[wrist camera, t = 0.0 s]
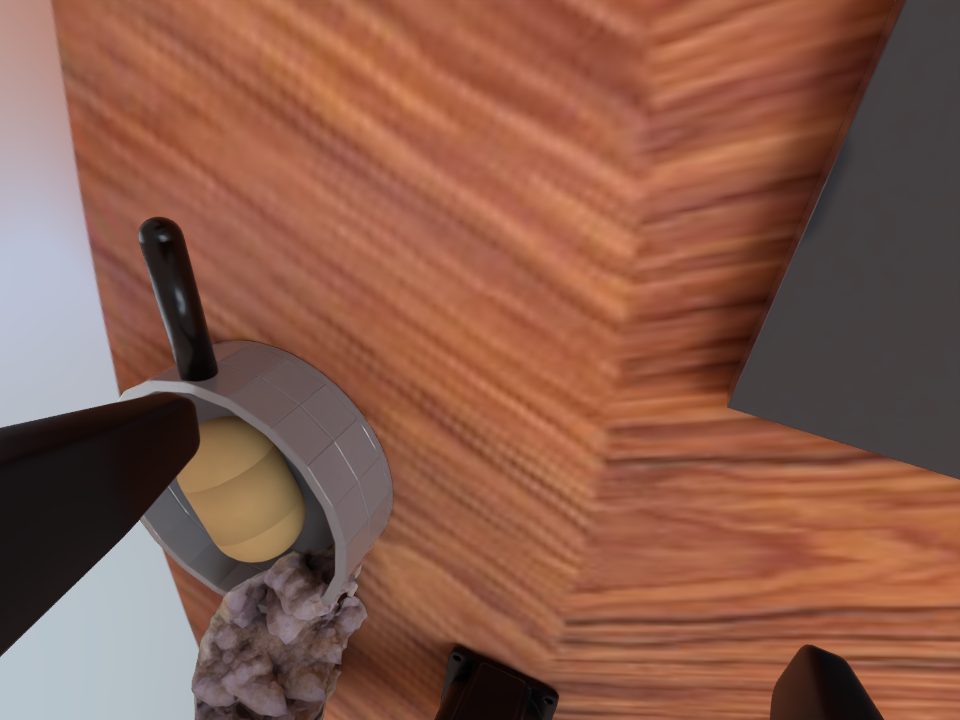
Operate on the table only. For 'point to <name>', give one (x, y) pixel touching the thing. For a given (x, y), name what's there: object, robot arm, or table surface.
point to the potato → (243, 491)
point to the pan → (306, 449)
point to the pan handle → (178, 298)
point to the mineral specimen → (276, 643)
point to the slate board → (876, 265)
